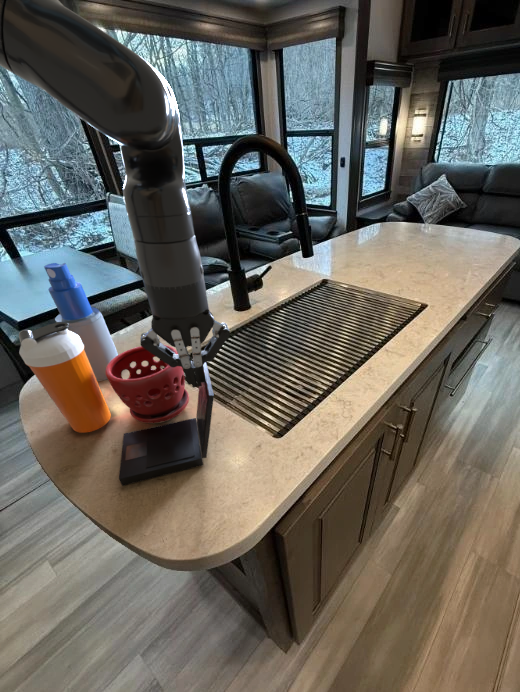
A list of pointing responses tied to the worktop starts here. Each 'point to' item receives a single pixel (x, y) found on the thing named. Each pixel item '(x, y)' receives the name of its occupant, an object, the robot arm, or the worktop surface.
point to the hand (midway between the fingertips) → (196, 384)
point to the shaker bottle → (65, 375)
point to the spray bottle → (81, 318)
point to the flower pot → (148, 386)
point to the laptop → (160, 451)
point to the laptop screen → (204, 411)
